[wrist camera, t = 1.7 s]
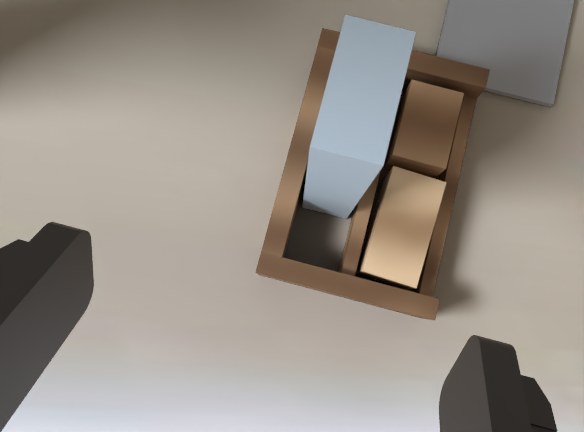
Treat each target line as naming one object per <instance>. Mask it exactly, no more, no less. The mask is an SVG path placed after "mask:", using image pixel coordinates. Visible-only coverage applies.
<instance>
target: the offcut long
mask: <svg viewBox="0 0 584 432" xmlns="http://www.w3.org/2000/svg"><path fill="white" fill-rule="evenodd" d="M445 186H446V182H444V181H440V180H437V179H434V178H431V177H428V176H424V175H421V174H418V173H415V172H411V171H408V170H405V169H402V168H399V167H395V166H393V167H392V168H391V170H390V171H389V172H388V174H387V175H386V176H385V177H384V180H383V184H382V187H381V190H380V194H379V197H378V200H377V204H376V207H375V210H374V214H373V217H372V220H371V223H370V227H369V230H368V233H367V237H366V240H365V243H364V247H363V250H362V253H361V257H360V260H359V263H358V267H357V270H356V274H359V275H362V276H365V277H369V278H372V279H375V280H378V281H381V282H384V283H387V284H390V285H393V286H397V287H400V288H403V289H414V288H417V285H418V281H419V278H420V274H421V271H422V267H423V264H424V260H425V256H426V253H427V249H428V246H429V242H430V239H431V235H432V232H433V228H434V225H435V221H436V218H437V214H438V210H439V207H440V203H441V200H442V196H443V193H444V189H445Z"/></svg>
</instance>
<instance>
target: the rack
mask: <svg viewBox="0 0 584 432" xmlns="http://www.w3.org/2000/svg"><path fill="white" fill-rule="evenodd" d="M339 36H340V32H336V31H332V30H328V29H324V28H322V32H321V35H320V39H319V43H318V46H317V50H316V54H315V57H314V61H313V65H312V68H311V72H310V76H309V79H308V83H307V87H306V90H305V94H304V98H303V101H302V105H301V109H300V112H299V116H298V120H297V123H296V127H295V130H294V134H293V138H292V141H291V145H290V149H289V152H288V156H287V160H286V163H285V167H284V171H283V174H282V178H281V182H280V185H279V189H278V193H277V196H276V200H275V204H274V207H273V211H272V214H271V218H270V222H269V225H268V229H267V233H266V236H265V240H264V244H263V247H262V251H261V255H260V258H259V262H258V266H257V269H256V273H257V274H259V275H261V276H265V277H269V278H273V279H276V280H280V281H284V282H288V283H291V284H295V285H299V286H303V287H306V288H310V289H314V290H318V291H321V292H325V293H329V294H333V295H336V296H340V297H344V298H348V299H351V300H355V301H359V302H363V303H366V304H370V305H374V306H378V307H381V308H385V309H389V310H393V311H396V312H400V313H404V314H408V315H411V316H415V317H419V318H424V319H431V320H435V319H436V314H437V310H438V305H439V301H440V299H438V298H434V297H433V293H434V289H435V284H436V280H437V275H438V271H439V266H440V262H441V257H442V253H443V248H444V244H445V239H446V234H447V230H448V225H449V221H450V216H451V212H452V207H453V203H454V198H455V194H456V189H457V185H458V180H459V176H460V171H461V167H462V162H463V157H464V153H465V148H466V144H467V139H468V135H469V130H470V126H471V121H472V117H473V112H474V108H475V103H476V99H477V97H478V96H479V95H480V94H481V93H482V92H483V91H484V90H485V89H486V86H487V81H488V76H489V72H490V69H486V68H482V67H478V66H474V65H470V64H466V63H461V62H457V61H453V60H449V59H445V58H441V57H437V56H433V55H429V54H425V53H421V52H417V51H413V50H412V51H411V55H410V59H409V63H408V67H407V72H406V76H405V80H404V84H403V88H402V91H406V89H407V87H408V85H409V84H410V82H411V80H416V81H419V82H423V83H427V84H431V85H435V86H439V87H442V88H446V89H450V90H454V91H458V92H462V93H464V96H463V100H462V104H461V108H460V112H459V117H458V121H457V125H456V129H455V133H454V138H453V142H452V146H451V150H450V154H449V159H448V163H447V167H446V169H445V170H444V171H443V172H442V173H440V178H439V180H440V181H444V182H446V186H445V189H444V193H443V196H442V200H441V203H440V207H439V210H438V214H437V218H436V221H435V225H434V228H433V232H432V235H431V239H430V242H429V246H428V249H427V253H426V256H425V260H424V264H423V267H422V271H421V274H420V278H419V281H418V285H417V288H414V292H411V291H408V290H404V289H400V288H396V287H393V286H389V285H385V284H381V283H377V282H374V281H370V280H366V279H362V278H359V277H355V273H356V269H357V265H358V261H359V257H360V253H361V249H362V245H363V241H364V237H365V233H366V229H367V224H368V220H369V216H370V212H371V208H372V204H373V200H374V196H375V192H376V188H377V184H378V179H379V175H380V171H381V170H380V171H379V173H378V174H377V176H376V177H375V179H374V180H373V181H372V183H371V184H370V186H369V187H368V189H367V190H366V192H365V193H364V194H363V196H362V197H361V199H360V200H359V202H358V203H357V204H356V206H355V207H354V211H353V215H352V219H351V223H350V227H349V231H348V235H347V239H346V243H345V247H344V251H343V255H342V259H341V263H340V267H339V271H338V272H336V271H332V270H328V269H325V268H321V267H317V266H313V265H309V264H306V263H302V262H298V261H294V260H291V259H287V258H284V254H285V251H286V247H287V243H288V239H289V236H290V232H291V228H292V224H293V221H294V217H295V213H296V209H297V206H298V202H299V198H300V194H301V191H302V187H303V183H304V179H305V176H306V172H307V165H308V157H309V149H310V144H311V140H312V136H313V133H314V129H315V125H316V122H317V118H318V114H319V110H320V107H321V103H322V99H323V95H324V92H325V88H326V84H327V80H328V77H329V73H330V69H331V66H332V62H333V58H334V54H335V51H336V47H337V43H338V39H339Z"/></svg>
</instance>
